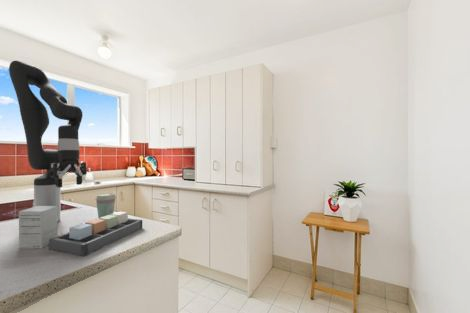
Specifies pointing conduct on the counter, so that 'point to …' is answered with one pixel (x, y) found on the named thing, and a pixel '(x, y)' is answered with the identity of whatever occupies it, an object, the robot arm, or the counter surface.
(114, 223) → the pale green cube
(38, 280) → the counter surface
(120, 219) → the cream cube
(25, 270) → the counter surface
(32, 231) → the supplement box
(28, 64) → the robot arm
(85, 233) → the pale blue cube
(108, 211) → the coffee cup
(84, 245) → the grey compartment tray
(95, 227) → the orange cube
